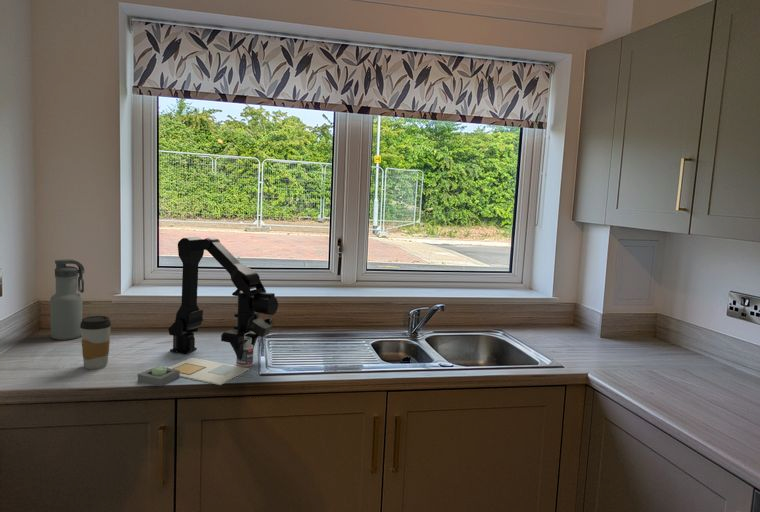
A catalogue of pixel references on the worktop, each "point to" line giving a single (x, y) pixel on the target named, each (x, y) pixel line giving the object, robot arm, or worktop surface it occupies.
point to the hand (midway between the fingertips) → (244, 356)
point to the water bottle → (67, 301)
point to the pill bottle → (246, 354)
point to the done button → (159, 371)
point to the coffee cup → (95, 341)
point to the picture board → (208, 370)
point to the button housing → (158, 377)
